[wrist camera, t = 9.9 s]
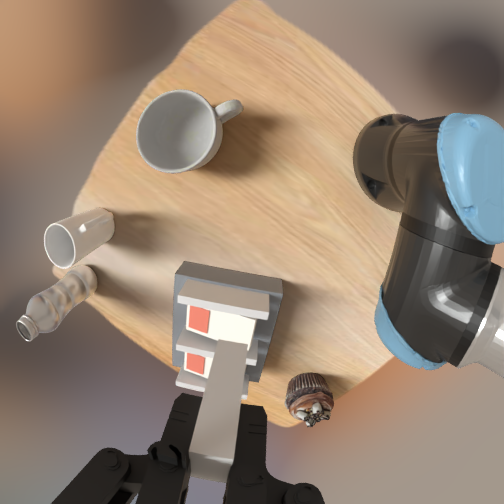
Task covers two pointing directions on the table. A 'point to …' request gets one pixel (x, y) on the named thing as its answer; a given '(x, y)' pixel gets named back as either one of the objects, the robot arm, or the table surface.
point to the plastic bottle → (57, 302)
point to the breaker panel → (229, 301)
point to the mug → (78, 236)
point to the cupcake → (309, 398)
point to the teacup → (182, 130)
